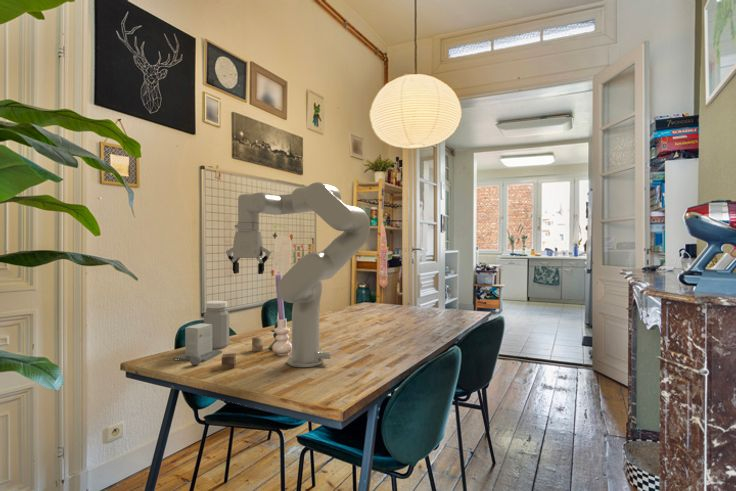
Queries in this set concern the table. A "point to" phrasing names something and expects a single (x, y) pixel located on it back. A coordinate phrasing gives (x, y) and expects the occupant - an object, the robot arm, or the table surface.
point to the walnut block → (228, 361)
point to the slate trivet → (203, 357)
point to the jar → (218, 322)
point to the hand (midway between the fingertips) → (248, 273)
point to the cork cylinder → (257, 344)
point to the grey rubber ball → (195, 359)
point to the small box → (198, 339)
